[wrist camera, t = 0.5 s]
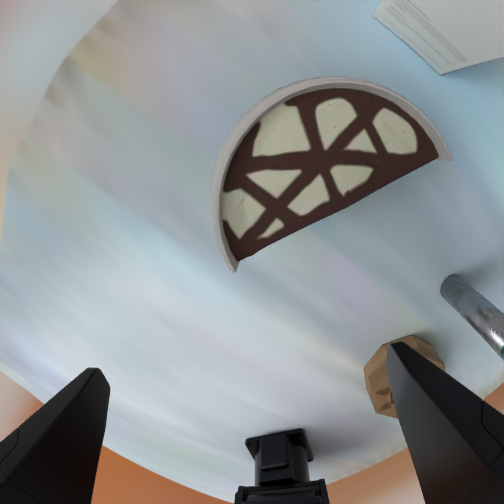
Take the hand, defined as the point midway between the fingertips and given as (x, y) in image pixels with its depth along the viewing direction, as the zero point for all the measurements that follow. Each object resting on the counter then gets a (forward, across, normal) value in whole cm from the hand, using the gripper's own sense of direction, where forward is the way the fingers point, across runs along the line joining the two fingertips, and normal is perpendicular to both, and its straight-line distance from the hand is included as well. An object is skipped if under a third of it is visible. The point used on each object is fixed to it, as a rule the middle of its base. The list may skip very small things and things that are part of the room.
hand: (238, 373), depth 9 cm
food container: (+16, -4, -4) cm, 17 cm away
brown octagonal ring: (+14, -12, +17) cm, 25 cm away
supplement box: (+18, -16, -14) cm, 28 cm away
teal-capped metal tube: (+14, -17, +9) cm, 24 cm away
